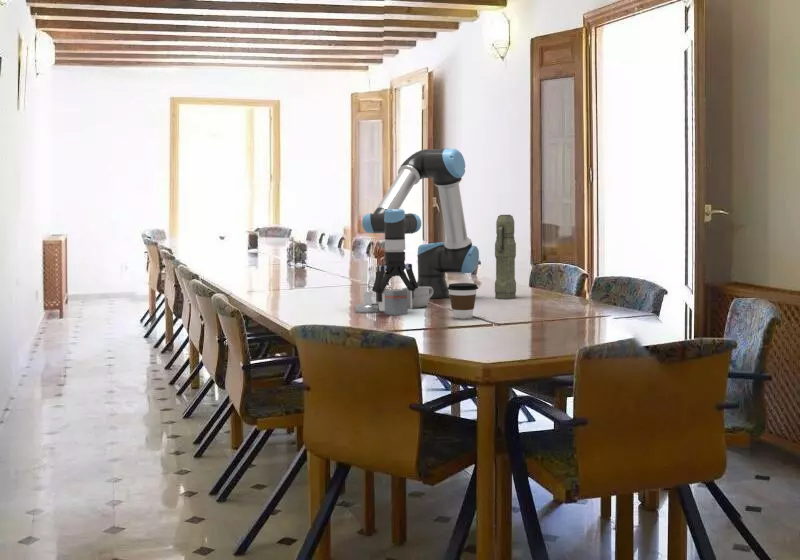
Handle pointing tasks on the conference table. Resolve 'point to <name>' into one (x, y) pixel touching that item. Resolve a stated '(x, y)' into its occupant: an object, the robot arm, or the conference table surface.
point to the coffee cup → (462, 299)
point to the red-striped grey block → (395, 302)
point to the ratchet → (367, 304)
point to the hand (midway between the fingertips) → (395, 309)
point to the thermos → (505, 258)
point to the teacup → (421, 296)
